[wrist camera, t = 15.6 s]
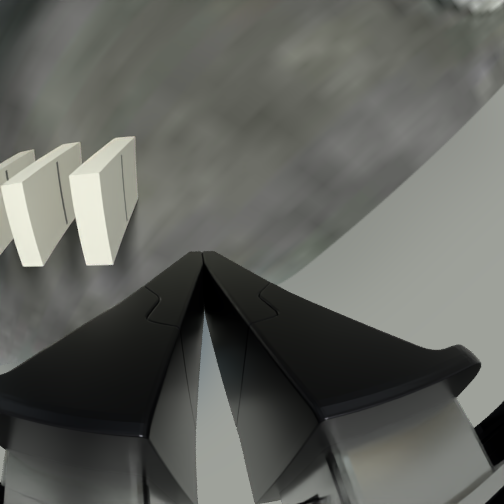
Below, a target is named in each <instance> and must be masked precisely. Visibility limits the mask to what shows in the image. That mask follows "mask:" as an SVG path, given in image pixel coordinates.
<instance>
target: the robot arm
mask: <svg viewBox="0 0 504 504" xmlns="http://www.w3.org/2000/svg"><path fill="white" fill-rule="evenodd" d="M204 310H205V316H206V320H207V324H208V328H209V332H210V336H211V340H212V343H213V348H214V352H215V355H216V359H217V363H218V367H219V370H220V373H221V377H222V381H223V384H224V388H225V391H226V395H227V398H228V401H229V405H230V408H231V412H232V415H233V418H234V421H235V425H236V427H237V431H238V434H239V438H240V442H241V446H242V450H243V454H244V459H245V463H246V468H247V472H248V477H249V481H250V485H251V489H252V494H253V498H254V502H255V504H260V503H266V502H272V501H278V500H281V502H282V504H504V401H503V402H502V404H501V405H500V406H499V407H498V408H497V409H495V410H494V411H493V412H492V413H491V414H490V415H489V416H488V417H487V418H486V419H484V420H483V421H482V422H481V423H480V424H479V425H477V426H476V427H475V428H474V427H473V426H472V424H471V422H470V420H469V418H468V417H467V415H466V413H465V412H464V410H463V408H462V407H461V405H460V403H459V402H458V400H457V398H456V397H457V396H458V395H459V394H460V393H461V392H462V391H463V390H464V389H465V388H466V387H467V386H468V384H469V383H470V382H471V381H472V380H473V379H474V378H475V376H476V375H477V373H478V372H479V370H480V368H481V362H480V361H479V359H478V358H477V357H476V356H475V355H474V354H473V353H472V352H471V351H470V350H468V349H467V348H465V347H464V346H462V345H455V346H451V347H448V348H446V349H441V350H431V349H426V348H423V347H420V346H417V345H415V344H412V343H410V342H407V341H405V340H402V339H400V338H397V337H395V336H392V335H390V334H388V333H385V332H383V331H380V330H377V329H375V328H373V327H370V326H368V325H365V324H363V323H361V322H358V321H355V320H353V319H351V318H348V317H346V316H344V315H341V314H339V313H336V312H334V311H332V310H329V309H327V308H325V307H322V306H320V305H317V304H315V303H312V302H310V301H308V300H306V299H304V298H301V297H299V296H297V295H295V294H292V293H290V292H288V291H286V290H284V289H282V288H280V287H279V286H277V285H275V284H273V283H270V282H269V281H267V280H265V279H263V278H261V277H260V276H258V275H256V274H254V273H252V272H251V271H249V270H247V269H245V268H243V267H242V266H240V265H238V264H236V263H234V262H233V261H231V260H229V259H227V258H225V257H224V256H222V255H220V254H218V253H217V252H215V251H204V252H203V253H202V252H200V251H198V252H189V253H187V254H186V255H185V256H183V257H182V258H180V259H179V260H178V261H176V262H175V263H174V264H172V265H171V266H170V267H168V268H167V269H166V270H164V271H163V272H162V273H160V274H159V275H158V276H156V277H155V278H154V279H152V280H151V281H150V282H148V283H147V284H146V285H144V286H143V287H141V288H140V289H138V290H137V291H136V292H134V293H133V294H131V295H130V296H129V297H127V298H126V299H124V300H123V301H121V302H120V303H118V304H116V305H115V306H113V307H112V308H110V309H108V310H107V311H105V312H103V313H102V314H100V315H98V316H97V317H95V318H93V319H92V320H90V321H89V322H87V323H85V324H84V325H82V326H80V327H79V328H77V329H76V330H74V331H72V332H71V333H69V334H68V335H66V336H64V337H63V338H61V339H59V340H58V341H56V342H55V343H53V344H52V345H50V346H48V347H47V348H45V349H44V350H42V351H40V352H39V353H37V354H36V355H34V356H33V357H31V358H29V359H28V360H26V361H25V362H23V363H22V364H20V365H19V366H17V367H15V368H14V369H12V370H11V371H9V372H7V373H4V374H2V375H0V446H1V447H3V448H4V449H5V450H6V451H5V457H4V463H3V471H2V480H1V482H0V504H198V500H197V499H198V498H197V478H196V448H195V447H196V418H197V400H198V384H199V371H200V357H201V345H202V333H203V321H204Z"/></svg>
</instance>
